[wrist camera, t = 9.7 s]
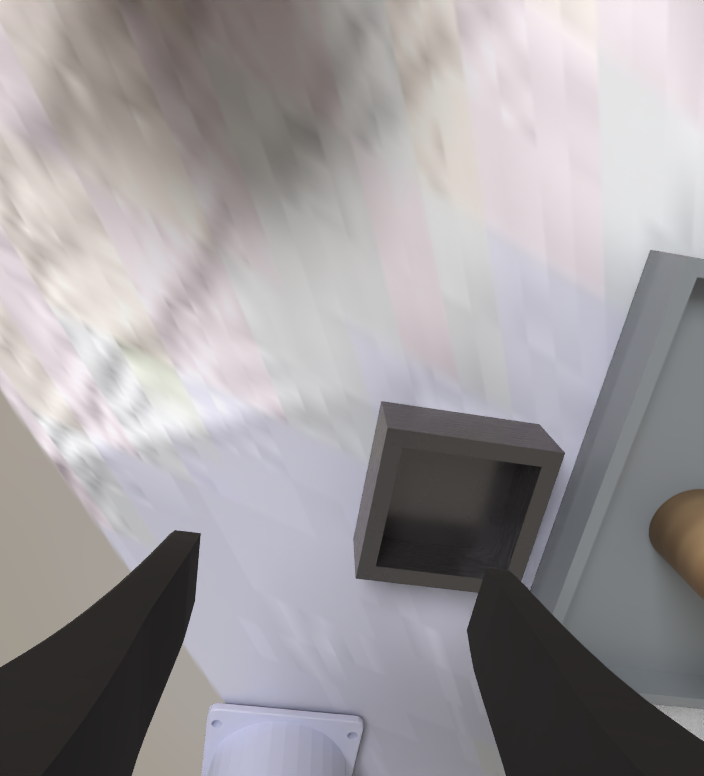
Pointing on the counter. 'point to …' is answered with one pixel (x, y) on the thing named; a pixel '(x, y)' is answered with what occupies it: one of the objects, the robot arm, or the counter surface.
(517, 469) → the pin holder
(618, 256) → the counter surface
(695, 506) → the oak dowel
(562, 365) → the counter surface
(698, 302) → the slate tray
